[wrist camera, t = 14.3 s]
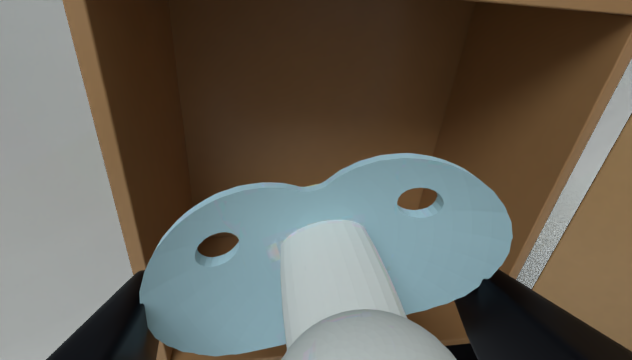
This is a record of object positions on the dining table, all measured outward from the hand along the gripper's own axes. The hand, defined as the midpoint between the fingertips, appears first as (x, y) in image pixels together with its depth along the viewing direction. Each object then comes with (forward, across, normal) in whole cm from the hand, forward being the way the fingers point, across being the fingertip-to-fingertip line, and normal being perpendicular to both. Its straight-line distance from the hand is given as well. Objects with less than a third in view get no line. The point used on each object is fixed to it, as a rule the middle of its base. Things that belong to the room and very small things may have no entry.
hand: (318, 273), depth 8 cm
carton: (+9, -2, 0) cm, 9 cm away
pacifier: (+1, 0, 0) cm, 1 cm away
